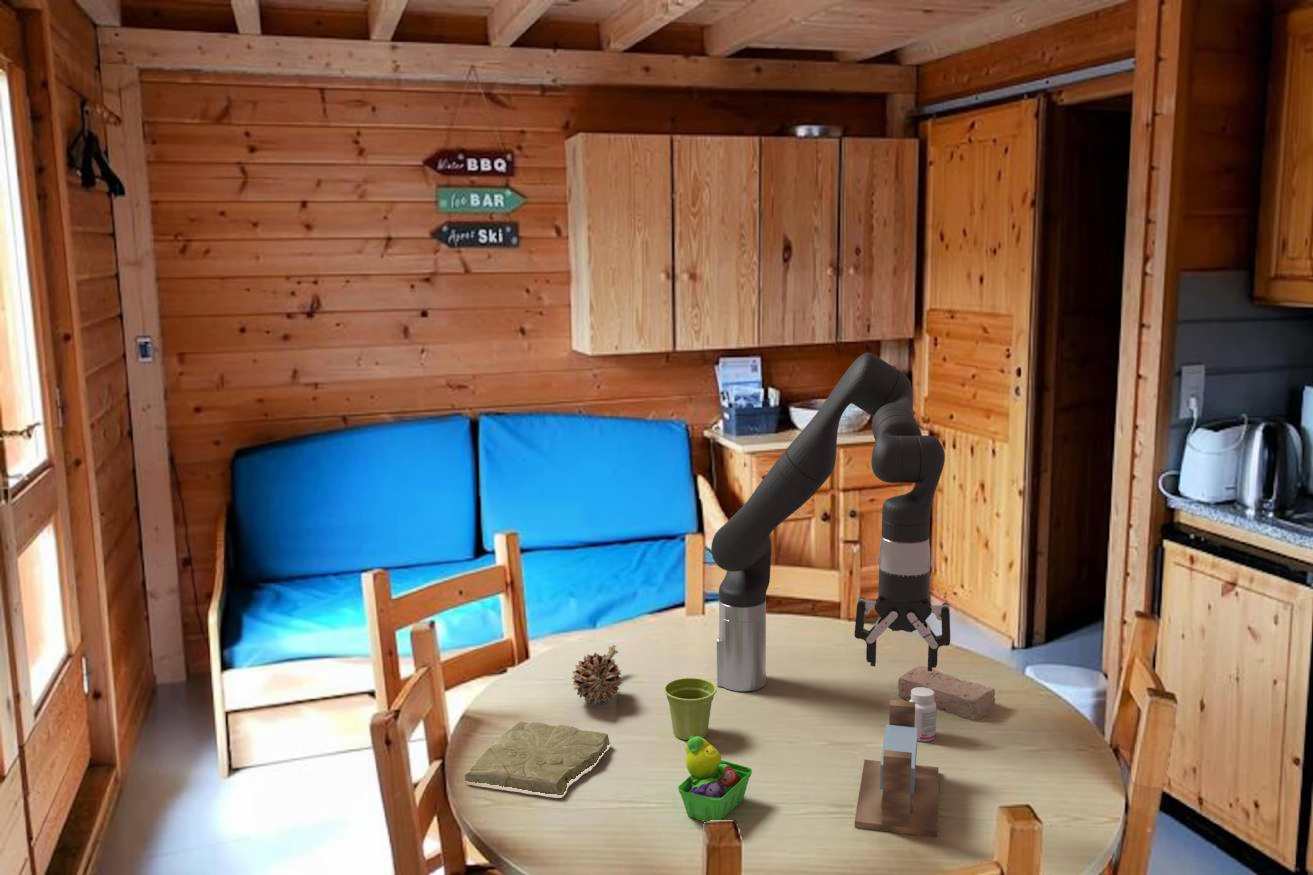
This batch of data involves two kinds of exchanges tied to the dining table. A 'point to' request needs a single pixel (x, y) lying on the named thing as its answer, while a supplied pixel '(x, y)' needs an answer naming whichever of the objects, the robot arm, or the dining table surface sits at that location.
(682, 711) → the plant pot
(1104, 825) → the dining table surface
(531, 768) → the decorative tile
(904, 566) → the robot arm
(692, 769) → the fruit basket
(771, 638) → the dining table surface
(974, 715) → the brick
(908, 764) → the peg stand
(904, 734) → the block
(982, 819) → the dining table surface
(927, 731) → the pill bottle
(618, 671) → the pine cone
